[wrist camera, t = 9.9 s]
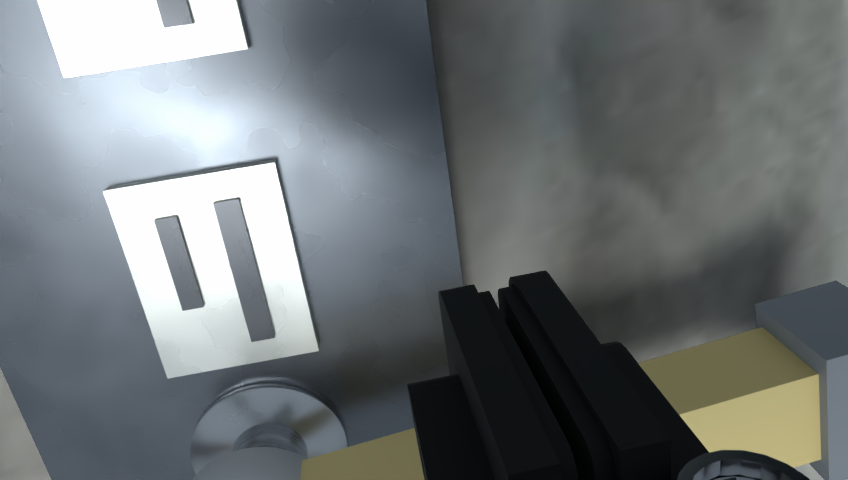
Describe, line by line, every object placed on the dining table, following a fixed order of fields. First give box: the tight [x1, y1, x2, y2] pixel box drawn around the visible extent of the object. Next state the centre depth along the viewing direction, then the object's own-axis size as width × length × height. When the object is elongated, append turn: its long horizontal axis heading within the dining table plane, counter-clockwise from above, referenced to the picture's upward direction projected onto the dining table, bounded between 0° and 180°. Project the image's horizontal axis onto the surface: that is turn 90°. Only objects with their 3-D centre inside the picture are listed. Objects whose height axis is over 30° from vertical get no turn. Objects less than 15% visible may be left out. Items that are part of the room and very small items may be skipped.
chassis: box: [0, 0, 463, 480], centre depth 17 cm, size 24×14×4 cm, turn 8°
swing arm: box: [193, 281, 848, 480], centre depth 18 cm, size 20×4×3 cm, turn 105°
